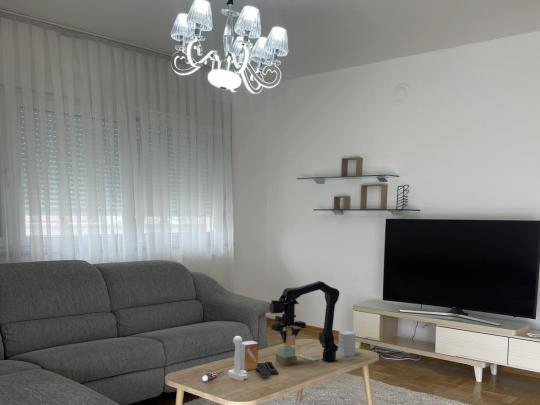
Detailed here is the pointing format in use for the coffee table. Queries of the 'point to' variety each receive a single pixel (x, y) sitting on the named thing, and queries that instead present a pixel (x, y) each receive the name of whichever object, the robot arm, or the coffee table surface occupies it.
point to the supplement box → (346, 343)
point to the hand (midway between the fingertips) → (288, 342)
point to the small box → (248, 355)
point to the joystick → (237, 362)
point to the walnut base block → (286, 360)
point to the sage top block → (286, 351)
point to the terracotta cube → (289, 340)
